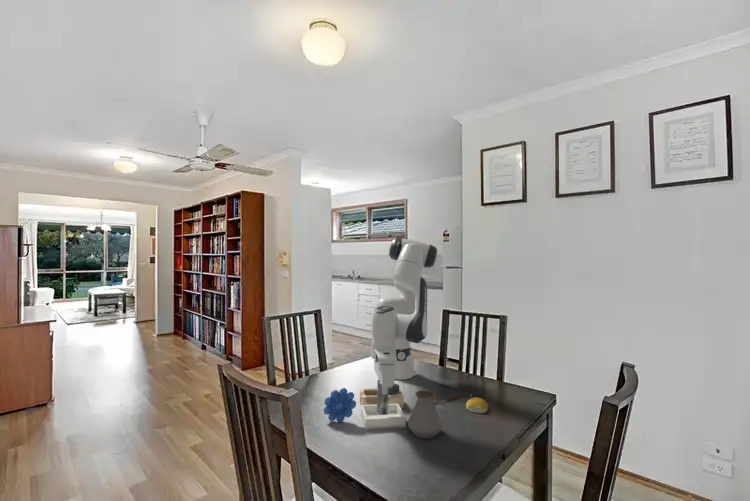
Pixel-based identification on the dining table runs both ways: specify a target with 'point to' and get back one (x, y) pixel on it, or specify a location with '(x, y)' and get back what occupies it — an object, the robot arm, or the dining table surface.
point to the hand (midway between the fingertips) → (382, 391)
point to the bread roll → (477, 405)
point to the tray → (382, 417)
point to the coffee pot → (427, 414)
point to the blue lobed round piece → (339, 405)
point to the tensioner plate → (371, 396)
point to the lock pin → (381, 400)
